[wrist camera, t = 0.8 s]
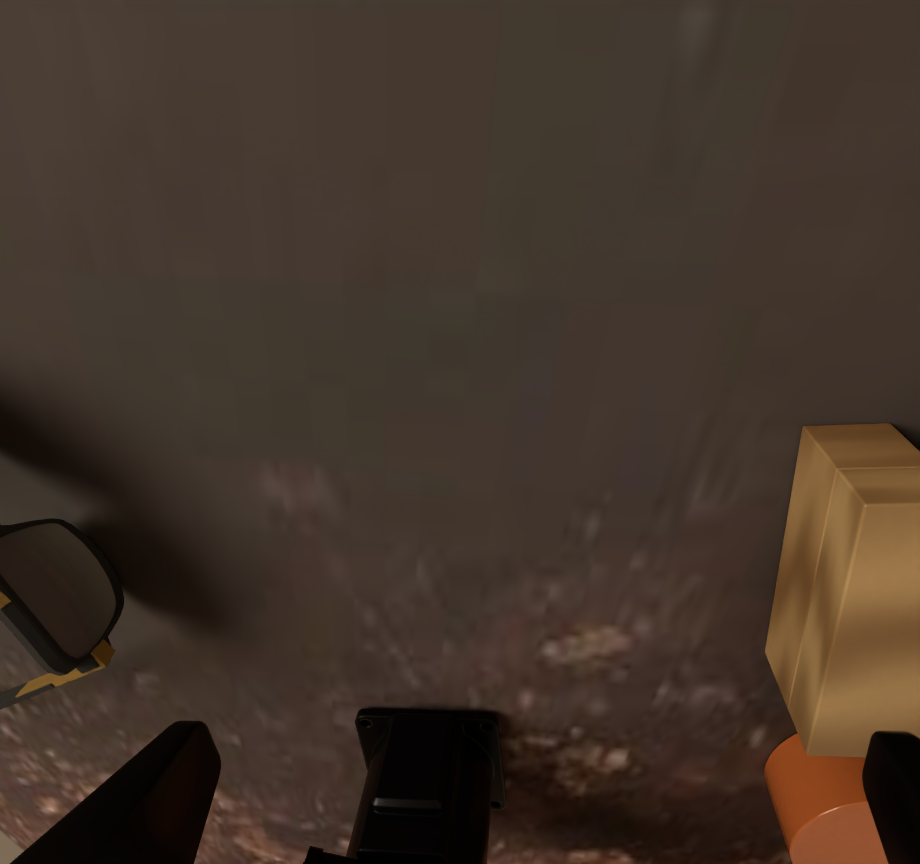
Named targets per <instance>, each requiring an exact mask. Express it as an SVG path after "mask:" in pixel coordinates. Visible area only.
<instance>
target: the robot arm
mask: <svg viewBox="0 0 920 864" xmlns="http://www.w3.org/2000/svg"><path fill="white" fill-rule="evenodd" d="M355 724H356V728H357V732H358V736H359V740H360V744H361V747H362V751H363V755H364V759H365V763H366V767H367V771H368V773H367V777H366V781H365V785H364V789H363V793H362V797H361V801H360V804H359V808H358V812H357V816H356V820H355V824H354V828H353V832H352V835H351V839H350V843H349V847H348V851H347V855H346V857H345V856H340V855H336V854H331V853H327V852H323V849H322V848H317V847H313V846H310V848H309V851H308V853H307V856H306V859H305V862H303V864H487V854H488V840H489V826H490V812H491V811H500V810H503V809H504V808H505V807H506V789H505V779H504V770H503V760H502V750H501V741H500V731H499V722H498V718H497V717H496V716H495V715H494V714H492V713H488V712H462V711H429V710H397V709H361V710H359V712H358V713H357V716H356V720H355ZM220 770H221V760H220V755H219V753H218V750H217V748H216V746H215V743H214V741H213V739H212V736H211V734H210V732H209V729H208V727H207V725H206V724H205V723H203V722H202V721H177V722H175V723H173V724H172V725H170V726H169V727H168V728H166V729H165V730H164V731H163V732H162V733H161V734H160V735H158V736H157V737H156V738H155V739H154V740H153V741H151V742H150V743H149V744H148V745H147V746H146V747H144V748H143V749H142V750H141V751H140V752H139V753H138V754H136V755H135V756H134V757H133V758H132V759H131V760H129V761H128V762H127V763H126V764H125V765H124V766H122V767H121V768H120V769H119V770H118V771H117V772H116V773H114V774H113V775H112V776H111V777H110V778H109V779H107V780H106V781H105V782H104V783H103V784H102V785H100V786H99V787H98V788H97V789H96V790H95V791H93V792H92V793H91V794H90V795H89V796H88V797H87V798H85V799H84V800H83V801H82V802H81V803H80V804H78V805H77V806H76V807H75V808H74V809H73V810H71V811H70V812H69V813H68V814H67V815H66V816H65V817H63V818H62V819H61V820H60V821H59V822H58V823H56V824H55V825H54V826H53V827H52V828H51V829H49V830H48V831H47V832H46V833H45V834H44V835H42V836H41V837H40V838H39V839H38V840H37V841H36V842H34V843H33V844H32V845H31V846H30V847H29V848H27V849H26V850H25V851H24V852H23V853H22V854H21V855H19V856H18V857H17V858H16V859H15V860H14V861H12V862H11V863H10V864H194V861H195V857H196V854H197V850H198V847H199V844H200V840H201V837H202V833H203V830H204V827H205V823H206V820H207V816H208V813H209V810H210V806H211V803H212V799H213V796H214V793H215V789H216V786H217V782H218V779H219V775H220ZM862 782H863V788H864V792H865V795H866V798H867V801H868V804H869V807H870V810H871V813H872V816H873V819H874V822H875V825H876V828H877V831H878V834H879V837H880V840H881V843H882V846H883V849H884V852H885V855H886V858H887V861H888V864H920V738H919V737H917V736H916V735H914V734H912V733H910V732H907V731H876V732H874V733H873V734H872V736H871V738H870V742H869V746H868V750H867V754H866V759H865V763H864V767H863V771H862Z"/></svg>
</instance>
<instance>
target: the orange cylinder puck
mask: <svg viewBox="0 0 920 864" xmlns="http://www.w3.org/2000/svg"><path fill="white" fill-rule="evenodd" d="M865 759H866V758H862V757H836V756H810V755H807V754H806V753H805V750H804V748H803V745H802V743H801V740H800V738H799V735H798V733H796V734H794V735H793V736H791V737H789V738H788V739H786V740H785V741H783V742H782V743H781V744H780V745H779V746H777V747H776V748H775V749H774V751H773V752H772V753H771V755H770V756H769V758H768V760H767V762H766V765H765V771H764V777H765V782H766V785H767V788H768V791H769V794H770V798H771V801H772V804H773V807H774V810H775V813H776V816H777V819H778V822H779V825H780V828H781V831H782V834H783V838H784V841H785V844H786V847H787V850H788V853H789V856H790V859H791V862H792V864H888V861H887V858H886V855H885V852H884V849H883V846H882V843H881V840H880V837H879V834H878V831H877V828H876V825H875V822H874V819H873V816H872V813H871V810H870V807H869V804H868V801H867V798H866V795H865V792H864V788H863V782H862V771H863V767H864V763H865Z"/></svg>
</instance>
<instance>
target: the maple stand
mask: <svg viewBox="0 0 920 864" xmlns="http://www.w3.org/2000/svg"><path fill="white" fill-rule="evenodd" d="M765 653H766V656H767V658H768V661H769V663H770V666H771V668H772V671H773V673H774V676H775V678H776V681H777V683H778V686H779V688H780V691H781V693H782V696H783V698H784V701H785V703H786V706H787V708H788V709H789V713H790V715H791V718H792V720H793V723H794V725H795V728H796V730H797V733H798V735H799V738H800V740H801V743H802V745H803V748H804V750H805V753H806V754H807V755H810V756H836V757H862V758H866V754H867V750H868V746H869V742H870V738H871V736H872V734H873V733H874V732H876V731H907V732H910V733H912V734H914V735H916V736H917V737H919V738H920V451H919V450H918V449H917V448H916V447H915V446H913V445H912V444H911V443H910V442H909V441H908V440H907V439H906V438H905V437H904V436H903V435H902V434H901V433H900V432H899V431H898V430H897V429H895V428H894V427H893V426H892V425H891V424H890V423H879V424H849V425H819V426H803V428H802V434H801V440H800V446H799V452H798V458H797V464H796V470H795V476H794V481H793V487H792V493H791V499H790V505H789V511H788V517H787V523H786V529H785V535H784V541H783V547H782V553H781V559H780V565H779V571H778V577H777V583H776V589H775V595H774V601H773V607H772V613H771V618H770V624H769V630H768V636H767V642H766V648H765Z"/></svg>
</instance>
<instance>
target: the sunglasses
mask: <svg viewBox="0 0 920 864" xmlns="http://www.w3.org/2000/svg"><path fill="white" fill-rule="evenodd" d="M123 606H124V596H123V591H122V587H121V584H120V581H119V579H118V577H117V575H116V573H115V571H114V569H113V567H112V565H111V564H110V563H109V561H108V560H107V559H106V557H105V556H104V555H103V553H102V552H101V551H100V550H99V549H98V548H97V546H96V545H95V544H94V543H93V542H92V541H91V540H90V539H89V538H88V537H87V536H86V535H85V534H83V533H82V532H81V531H79V530H78V529H77V528H75V527H74V526H73V525H71V524H69V523H68V522H66V521H64V520H60V519H44V520H36V521H29V522H24V523H19V524H13V525H0V619H1V621H2V622H3V623H4V624H5V625H6V626H7V627H8V628H9V630H10V631H11V632H12V633H13V634H14V635H15V636H16V638H17V639H18V640H19V641H20V642H21V644H22V645H23V646H24V647H25V648H26V649H27V651H28V652H29V653H30V654H31V655H32V657H33V658H34V659H35V660H36V661H37V662H38V664H39V665H40V666H41V667H42V668H43V669H44V670H46V671H47V672H48V674H46V675H44V676H41V677H39V678H36V679H34V680H32V681H29V682H27V683H25V684H22V685H20V686H18V687H15V688H13V689H10V690H8V691H6V692H3V693H1V694H0V709H3V708H5V707H8V706H10V705H13V704H15V703H18V702H20V701H23V700H25V699H28V698H30V697H33V696H35V695H38V694H40V693H43V692H45V691H47V690H50V689H52V688H54V687H57V686H59V685H61V684H64V683H66V682H68V681H71V680H72V681H73V680H75V679H78V678H80V677H82V676H85V675H87V674H90V673H92V672H95V671H97V670H99V669H102V668H104V667H107V666H108V664H109V662H110V661H111V657H112V656H113V654H114V653H115V650H114V649H113V648H112V647H111V644H110V641H109V639H108V636H109V634H110V632H111V631H112V629H113V627H114V626H115V624H116V622H117V621H118V619H119V617H120V615H121V612H122V609H123Z"/></svg>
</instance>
